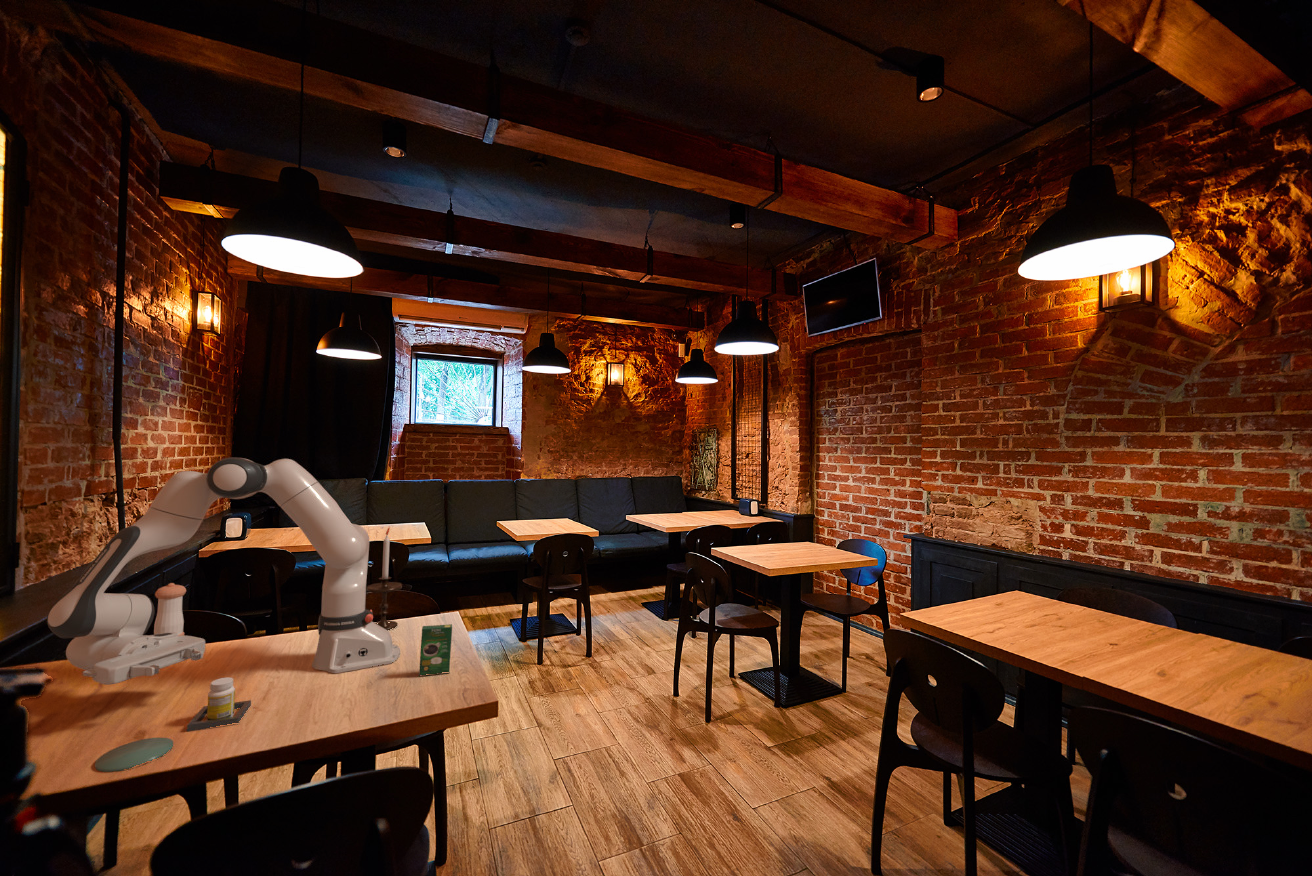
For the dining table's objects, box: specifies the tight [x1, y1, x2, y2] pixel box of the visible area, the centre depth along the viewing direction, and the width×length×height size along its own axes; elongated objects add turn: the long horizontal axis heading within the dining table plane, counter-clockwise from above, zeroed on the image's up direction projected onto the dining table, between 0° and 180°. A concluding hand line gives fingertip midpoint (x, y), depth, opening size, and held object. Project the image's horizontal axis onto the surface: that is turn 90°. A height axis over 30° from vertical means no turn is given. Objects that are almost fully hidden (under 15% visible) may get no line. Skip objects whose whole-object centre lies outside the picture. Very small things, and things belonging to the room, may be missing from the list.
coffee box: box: [418, 623, 453, 677], centre depth 146 cm, size 8×3×13 cm, turn 110°
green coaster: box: [94, 736, 174, 773], centre depth 104 cm, size 11×11×1 cm
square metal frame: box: [186, 699, 252, 733], centre depth 119 cm, size 9×9×1 cm
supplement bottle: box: [206, 677, 236, 720], centre depth 119 cm, size 5×5×8 cm
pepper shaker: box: [153, 582, 187, 636], centre depth 161 cm, size 7×7×19 cm
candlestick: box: [366, 526, 403, 631], centre depth 183 cm, size 11×11×35 cm
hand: (178, 663), depth 122 cm, fingers open, 8 cm apart
